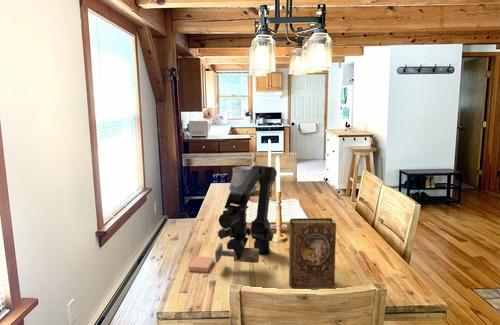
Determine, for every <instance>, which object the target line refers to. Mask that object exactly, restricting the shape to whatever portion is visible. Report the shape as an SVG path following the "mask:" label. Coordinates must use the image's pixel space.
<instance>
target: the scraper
mask: <svg viewBox="0 0 500 325" xmlns="http://www.w3.org/2000/svg"><path fill="white" fill-rule="evenodd" d="M223 247H224V246H223V242H221V243H219V244H218V246H217V248H216V249H215V252H214V255H215V256H214V263H217V264H218V263H219V262H220V260H221V258H222V257H233V262H241V263H252V264H254V263H255V264H258V263H259V260H260V254H259V249H258V248H254V247H245V248H244V250H243V252H242V255H241V258H240V260H238V259H237V257H236V253H235V250H229V249H227V250H225V249H224V248H223Z"/></svg>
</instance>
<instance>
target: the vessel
mask: <svg viewBox="0 0 500 325" xmlns="http://www.w3.org/2000/svg"><path fill="white" fill-rule="evenodd" d="M231 169H232V176H231V180H230V184H229V185H228V190H229V191H230V192H231V191H232V190H233V189H234V188H235V187H237V186H240V185H241V184H242V182H243V181H244V179H245V178H246V177H247V175H248V174H249V173H250V171H251V169H252V166H249V165H247V166H245V165H241V166H235V167H232V168H231ZM257 188H258V186H257V185H255V186H254V187H253V189H252V190H251V192H250V195H251V194H254V193H255V192H256V190H257Z"/></svg>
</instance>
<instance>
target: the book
mask: <svg viewBox="0 0 500 325" xmlns="http://www.w3.org/2000/svg"><path fill="white" fill-rule="evenodd" d="M336 235H337V223H336V222H334V221H333V218H331V217H319V218H318V217H312V218H311V217H310V218H309V217H308V218H307V217H306V218H303V217H302V218H297V217H296V218H290V219H289V244H288V245H289V248H288V252H289V253H288V254H289V255H288V256H289V259H288V260H289V264H288V265H289V267H288V269H289V270H288V287H290V288H291V289H320V288H321V289H322V288H323V289H325V288H326V289H327V288H333V287H335V281H336V280H335V278H336V242H337V241H336V240H337V239H336V237H337V236H336Z"/></svg>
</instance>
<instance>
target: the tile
mask: <svg viewBox="0 0 500 325" xmlns="http://www.w3.org/2000/svg"><path fill="white" fill-rule="evenodd" d="M214 263H215V257H210V256H208V257H207V256H195V257H194V259H193V260H192V262H191V263H190V264H189V266H188V272H200V273H209V271H210V270H211V268H212V266H213V265H214Z"/></svg>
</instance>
